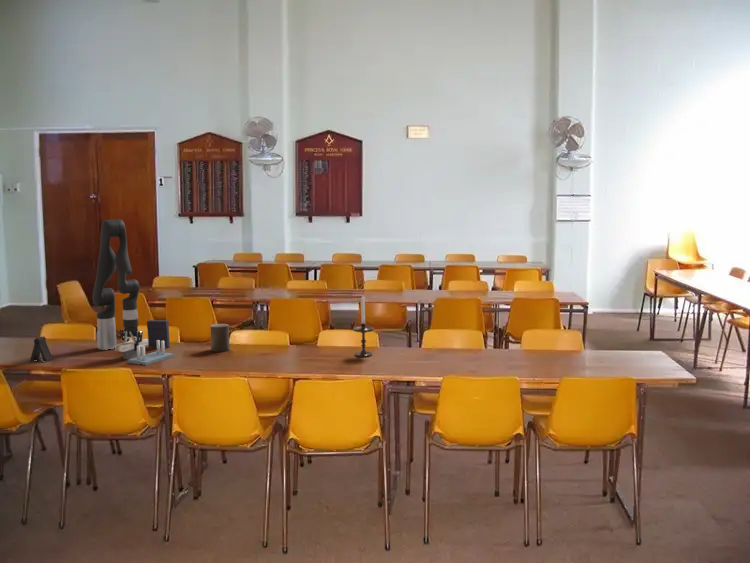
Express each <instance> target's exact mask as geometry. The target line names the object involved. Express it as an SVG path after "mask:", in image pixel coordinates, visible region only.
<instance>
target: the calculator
mask: <svg viewBox="0 0 750 563" xmlns="http://www.w3.org/2000/svg"><path fill="white" fill-rule="evenodd" d="M169 323H170V322H169V320H168V319H165V320H164V319H163V320H161V319H159V320H158V319H149V320H147V321H146V328H147V339H148V345H147V346H148V348H151V349H152V348H153V349H157V343H156V340H160V349H161V341H164V346H165V349H168V348H170V345H171V344H170V327H169Z"/></svg>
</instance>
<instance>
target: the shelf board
mask: <svg viewBox="0 0 750 563" xmlns="http://www.w3.org/2000/svg"><path fill="white" fill-rule="evenodd" d="M139 340H140V339H139ZM116 344H117V345H115V349H114V352H120V353H123V352H125V351H128V350H131V349H134V344H135V343H134V341H133V340H132V339H131V340H129V341H128V342H124V341H123V342H121V343H116ZM139 346H140V347H141V348H142V346H145V347H146V346H149V345H148V338H143V337H142V342H139Z"/></svg>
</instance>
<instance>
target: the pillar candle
mask: <svg viewBox="0 0 750 563" xmlns="http://www.w3.org/2000/svg"><path fill="white" fill-rule="evenodd" d="M210 348H211V351H212V352H214V353H215V352H216V353H222V351H224V352H228V351H229V350H230V329H229V324H227V323H216V324H215V323H214V324H211V325H210ZM227 350H228V351H227Z"/></svg>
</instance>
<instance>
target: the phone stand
mask: <svg viewBox="0 0 750 563" xmlns="http://www.w3.org/2000/svg"><path fill="white" fill-rule="evenodd" d="M46 338H47V337H45V335H44V336H39V337H37V338H34V340H33V343H34V344H33V347H32V348H33V349H32V353H31V356H30V359H29V362H30V361H34V360H37V361H42V360H43V361H47V362H49V361H51V360H53V356H52V353H51V351H50V349H49V346H48V343H47V341H46V340H47V339H46ZM41 359H42V360H41ZM48 360H49V361H48Z"/></svg>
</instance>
